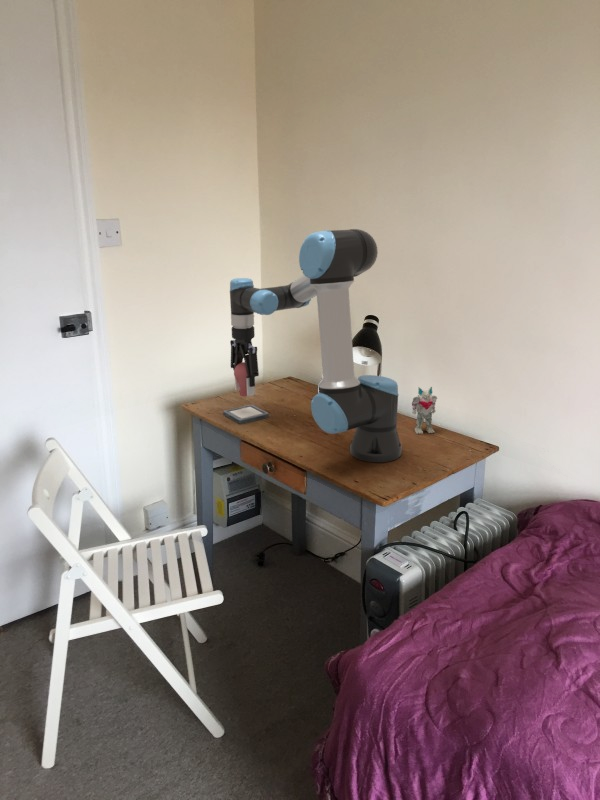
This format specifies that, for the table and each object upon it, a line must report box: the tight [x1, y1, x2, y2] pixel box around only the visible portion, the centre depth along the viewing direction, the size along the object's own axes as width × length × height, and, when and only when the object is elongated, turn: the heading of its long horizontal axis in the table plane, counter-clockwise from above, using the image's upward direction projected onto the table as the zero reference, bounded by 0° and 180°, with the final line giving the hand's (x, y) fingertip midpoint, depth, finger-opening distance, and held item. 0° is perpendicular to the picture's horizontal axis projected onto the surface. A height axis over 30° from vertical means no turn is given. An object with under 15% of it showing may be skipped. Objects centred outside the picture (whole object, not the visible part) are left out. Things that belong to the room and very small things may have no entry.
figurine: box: [411, 386, 438, 435], centre depth 208 cm, size 8×8×15 cm
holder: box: [222, 403, 270, 425], centre depth 224 cm, size 12×12×2 cm
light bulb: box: [233, 361, 248, 398], centre depth 220 cm, size 7×7×12 cm
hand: (245, 392), depth 221 cm, fingers closed on light bulb, 7 cm apart
